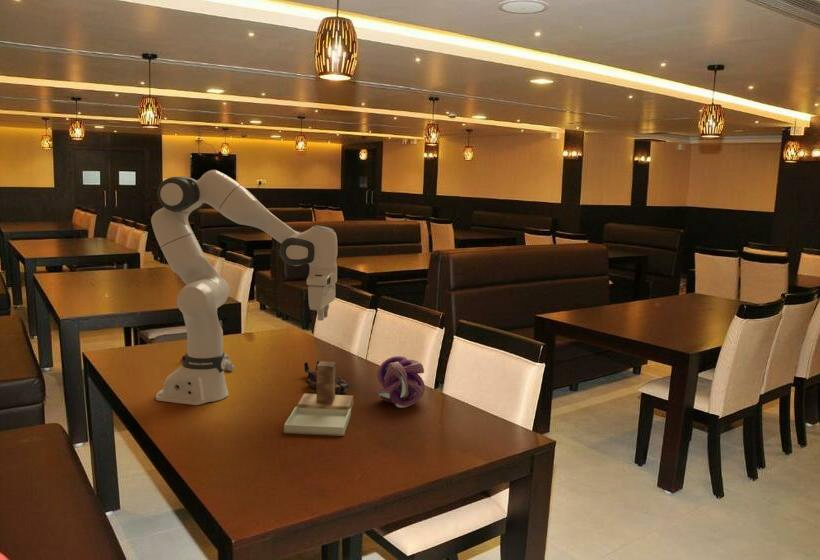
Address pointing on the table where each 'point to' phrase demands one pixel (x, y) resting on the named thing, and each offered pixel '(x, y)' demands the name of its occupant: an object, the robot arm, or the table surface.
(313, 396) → the oak board
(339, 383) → the figurine
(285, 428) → the tray
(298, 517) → the table surface
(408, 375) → the sculpture
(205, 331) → the robot arm
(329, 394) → the walnut block
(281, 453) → the table surface
